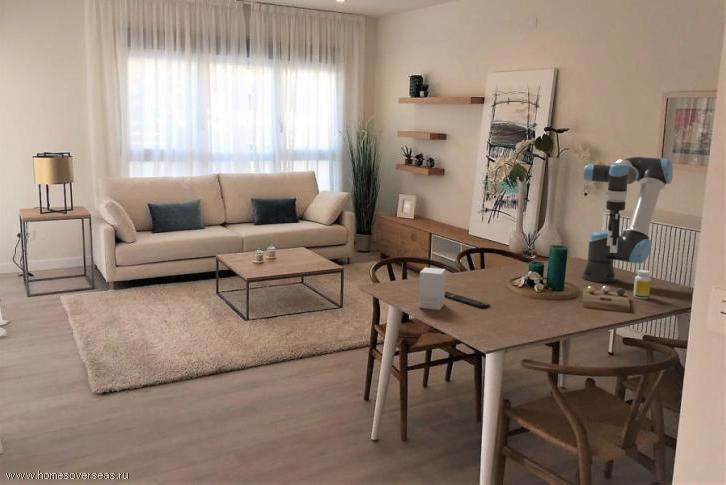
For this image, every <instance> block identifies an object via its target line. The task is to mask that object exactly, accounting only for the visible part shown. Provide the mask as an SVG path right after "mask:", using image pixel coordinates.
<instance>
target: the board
mask: <svg viewBox="0 0 726 485" xmlns="http://www.w3.org/2000/svg"><path fill="white" fill-rule="evenodd" d="M628 294H629V293H628V292H625V293H624V295H618V294H617V291H612V290H610V291H609V292H608V293H603V292H602V289H595V292H594V293H592V294H590V293H588V292H587V288H585V287H583V289H582V303H581V304H582V308H589V309H590V308H591V309H600V310H609V311H610V310H611V311H617V312H626V313H627V312H628V313H630V311H631V310H630V309H631V304H630V299H629V295H628Z"/></svg>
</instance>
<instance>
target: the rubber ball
mask: <svg viewBox="0 0 726 485" xmlns="http://www.w3.org/2000/svg"><path fill="white" fill-rule="evenodd" d="M616 292H617V294H618V295H624V293H626V292H625V289H624V288H623V287H619V288H617V290H616Z"/></svg>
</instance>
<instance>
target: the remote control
mask: <svg viewBox="0 0 726 485" xmlns="http://www.w3.org/2000/svg"><path fill="white" fill-rule="evenodd" d="M445 297H446V298H445V299H449V300H453V301H456V302H458V301H459V302H458V303H462V304H465V305H469V306H471V307H472V306H473V307H474V308H479V309H482V310H484V309H487V308H488V309H489V307H491V305H490V304H489V303H486V302H483V301H479V300H476V299H473V298H469V297H465V296H462V295H459V294H455V293H453V292H448V291H445Z"/></svg>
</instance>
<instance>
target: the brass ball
mask: <svg viewBox="0 0 726 485" xmlns="http://www.w3.org/2000/svg"><path fill="white" fill-rule="evenodd" d="M586 289H587V292H588V293H590V294H592V293H594V292H595V290H596V287H594V286H592V285H589V286H587V287H586Z"/></svg>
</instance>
